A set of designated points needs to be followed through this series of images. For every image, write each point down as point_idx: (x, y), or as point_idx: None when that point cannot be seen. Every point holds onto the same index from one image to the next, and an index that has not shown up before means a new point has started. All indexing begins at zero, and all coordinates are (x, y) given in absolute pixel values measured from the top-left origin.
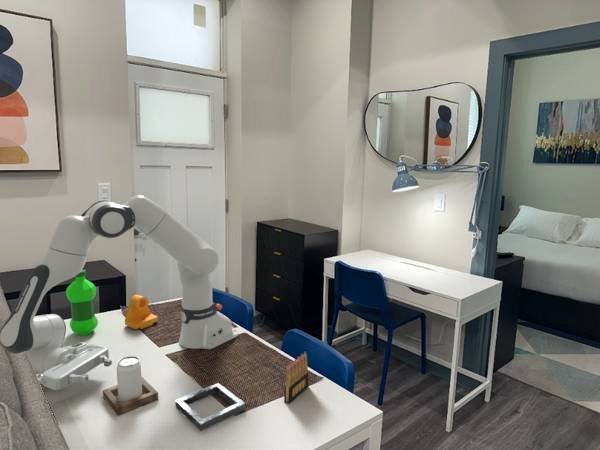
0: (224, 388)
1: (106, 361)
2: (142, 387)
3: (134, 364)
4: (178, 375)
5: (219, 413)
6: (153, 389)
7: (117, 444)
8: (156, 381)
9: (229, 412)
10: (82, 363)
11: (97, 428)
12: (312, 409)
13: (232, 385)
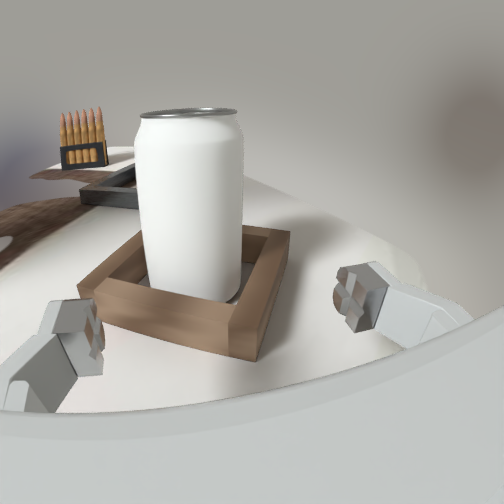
0: (98, 180)
1: (86, 312)
2: (131, 272)
3: (195, 111)
4: (24, 267)
5: None
6: None
7: (337, 217)
8: (62, 291)
9: None
10: (325, 392)
11: (355, 260)
12: (114, 157)
13: (67, 198)
